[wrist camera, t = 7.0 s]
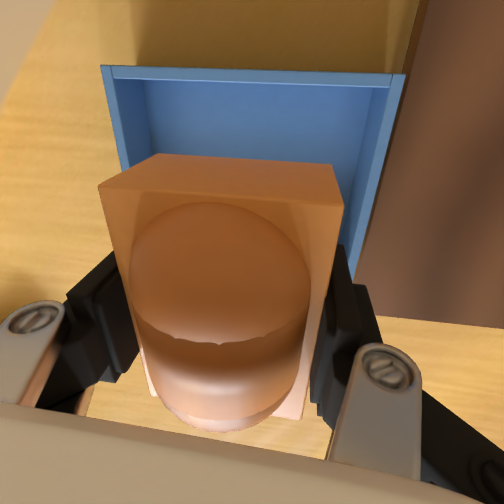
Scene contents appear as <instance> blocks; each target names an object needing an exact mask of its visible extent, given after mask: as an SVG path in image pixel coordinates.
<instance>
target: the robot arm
mask: <svg viewBox="0 0 504 504" xmlns="http://www.w3.org/2000/svg"><path fill="white" fill-rule="evenodd" d="M66 296H67V298H68V299H67V300H66V301H65V302H64V303H63V304H62V303H60V302H58V301H54V300H44V301H38V302H34V303H31V304H28V305H26V306H24V307H21V308H19V309H17V310H16V311H14V312H13V313H12V314H10V315H9V316H8V317H7V318H6V319H5V320H4V321H3V322H2V324H1V325H0V504H504V451H503V450H501V449H500V448H499V447H497V446H496V445H495V444H494V443H492V442H491V441H490V440H488V439H487V438H486V437H484V436H483V435H482V434H480V433H479V432H478V431H476V430H475V429H474V428H472V427H471V426H470V425H469V424H467V423H466V422H465V421H463V420H462V419H461V418H459V417H458V416H457V415H455V414H454V413H453V412H451V411H450V410H449V409H447V408H446V407H445V406H444V405H442V404H441V403H440V402H438V401H437V400H436V399H434V398H433V397H432V396H430V395H429V394H428V393H426V392H425V391H424V390H422V377H421V372H420V370H419V368H418V367H417V365H416V363H415V362H414V361H413V360H412V359H411V358H410V357H409V356H408V355H407V354H405V353H404V352H402V351H401V350H399V349H397V348H395V347H393V346H391V345H387V344H383V341H382V338H381V334H380V331H379V327H378V324H377V321H376V317H375V314H374V310H373V307H372V304H371V300H370V297H369V293H368V290H367V287H366V286H365V285H363V284H354V283H352V279H351V275H350V270H349V266H348V262H347V257H346V253H345V249H344V245H343V244H337V246H336V251H335V256H334V261H333V266H332V271H331V276H330V281H329V286H328V291H327V296H326V298H325V300H324V305H323V310H322V315H321V320H320V325H319V330H318V335H317V340H316V345H315V350H314V356H313V361H312V366H311V371H310V402H311V403H317V416H322V417H323V420H324V421H325V422H326V423H327V424H328V425H329V427H330V428H331V429H332V433H331V437H330V440H329V444H328V448H327V451H326V455H325V459H324V460H321V459H316V458H311V457H306V456H301V455H295V454H290V453H284V452H279V451H273V450H268V449H262V448H257V447H252V446H246V445H241V444H235V443H230V442H224V441H219V440H213V439H208V438H202V437H197V436H191V435H186V434H180V433H175V432H169V431H163V430H158V429H152V428H147V427H141V426H135V425H130V424H124V423H118V422H113V421H107V420H102V419H96V418H90V417H86V413H87V410H88V407H89V404H90V400H91V397H92V394H93V391H94V385H95V384H96V383H97V382H98V381H105V382H111V383H116V382H117V380H118V378H119V377H120V375H121V374H122V373H126V372H127V371H128V369H129V368H130V366H131V364H132V363H133V361H134V359H135V358H136V356H137V354H138V353H139V351H140V349H139V345H138V341H137V337H136V333H135V329H134V325H133V321H132V317H131V313H130V310H129V306H128V302H127V298H126V294H125V290H124V286H123V282H122V278H121V274H120V273H119V269H118V265H117V261H116V257H115V253H114V250H113V251H112V252H111V253H110V254H109V255H108V256H107V257H106V258H105V259H104V260H102V261H101V262H100V263H99V264H98V265H97V266H96V267H95V268H94V269H93V270H92V271H90V272H89V273H88V274H87V275H86V276H85V277H84V278H83V279H82V280H81V281H80V282H79V283H77V284H76V285H75V286H74V287H73V288H72V289H71V290H70V291H69V292H68V293H67V294H66Z"/></svg>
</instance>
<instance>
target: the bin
mask: <svg viewBox="0 0 504 504" xmlns="http://www.w3.org/2000/svg"><path fill="white" fill-rule="evenodd" d="M100 68H101V73H102V78H103V82H104V87H105V92H106V97H107V102H108V107H109V111H110V116H111V121H112V126H113V131H114V136H115V141H116V145H117V150H118V155H119V160H120V165H121V170H122V172H123V171H125V170H127V169H129V168H131V167H133V166H135V165H136V164H138V163H140V162H142V161H144V160H146V159H148V158H150V157H152V156H153V155H155V154H157V153H163V154H179V155H195V156H210V157H226V158H242V159H258V160H273V161H289V162H305V163H321V164H331V165H332V167H333V170H334V173H335V177H336V180H337V183H338V186H339V190H340V193H341V196H342V199H343V203H344V211H343V216H342V221H341V226H340V231H339V236H338V241H337V244H343V245H344V249H345V253H346V257H347V262H348V266H349V270H350V275H351V279H352V282H353V279H354V275H355V271H356V267H357V263H358V260H359V256H360V252H361V248H362V244H363V240H364V236H365V232H366V228H367V224H368V221H369V217H370V213H371V209H372V205H373V201H374V197H375V193H376V189H377V186H378V182H379V178H380V174H381V170H382V166H383V162H384V158H385V154H386V151H387V147H388V143H389V139H390V135H391V131H392V127H393V123H394V119H395V115H396V112H397V108H398V104H399V100H400V96H401V92H402V88H403V84H404V80H405V77H406V74H397V73H364V72H330V71H296V70H263V69H229V68H196V67H162V66H129V65H100Z"/></svg>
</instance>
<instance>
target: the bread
mask: <svg viewBox="0 0 504 504" xmlns="http://www.w3.org/2000/svg"><path fill="white" fill-rule="evenodd" d="M98 190H99V194H100V198H101V202H102V206H103V210H104V214H105V218H106V222H107V226H108V230H109V234H110V238H111V242H112V245H113V249H114V253H115V257H116V261H117V265H118V269H119V273H120V274H121V278H122V282H123V286H124V290H125V294H126V298H127V302H128V306H129V310H130V313H131V317H132V321H133V325H134V329H135V333H136V337H137V341H138V345H139V349H140V351H139V352H140V356H141V359H142V363H143V367H144V371H145V375H146V379H147V383H148V387H149V391H150V395H152V396H157V397H159V398H160V400H161V401H162V403H163V404H164V406H166V407H167V408H168V409H169V410H170V411H171V412H172V413H173V414H174V415H175V416H176V417H177V418H179V419H180V420H181V421H183V422H184V423H186V424H188V425H190V426H192V427H194V428H197V429H201V430H204V431H207V432H219V433H227V432H234V431H240V430H243V429H246V428H249V427H252V426H255V425H256V424H258V423H260V422H261V421H263V420H265V419H267V418H268V417H269V416H270V415H272V416H278V417H284V418H290V419H296V420H301V419H302V415H303V410H304V405H305V400H306V395H307V390H308V385H309V380H310V371H311V366H312V361H313V356H314V350H315V345H316V340H317V335H318V330H319V325H320V320H321V315H322V310H323V305H324V300H325V298H326V296H327V291H328V286H329V281H330V276H331V271H332V266H333V261H334V256H335V251H336V246H337V241H338V236H339V231H340V226H341V221H342V216H343V211H344V203H343V199H342V196H341V193H340V190H339V186H338V183H337V180H336V177H335V173H334V170H333V167H332V165H331V164H321V163H305V162H289V161H273V160H258V159H242V158H226V157H210V156H195V155H179V154H163V153H157V154H155V155H153V156H152V157H150V158H148V159H146V160H144V161H142V162H140V163H138V164H136V165H135V166H133V167H131V168H129V169H127V170H125V171H123V172H121V173H120V174H118V175H116V176H114V177H112V178H110V179H108V180H106V181H104V182H103V183H101V184H99V185H98Z"/></svg>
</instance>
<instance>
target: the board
mask: <svg viewBox="0 0 504 504" xmlns="http://www.w3.org/2000/svg"><path fill="white" fill-rule="evenodd" d="M402 74H406V77H405V80H404V84H403V88H402V92H401V96H400V100H399V104H398V108H397V112H396V115H395V119H394V123H393V127H392V131H391V135H390V139H389V143H388V147H387V151H386V154H385V158H384V162H383V166H382V170H381V174H380V178H379V182H378V186H377V189H376V193H375V197H374V201H373V205H372V209H371V213H370V217H369V221H368V224H367V228H366V232H365V236H364V240H363V244H362V248H361V252H360V256H359V260H358V263H357V267H356V271H355V275H354V279H353V282H352V283H354V284H363V285H365V286H366V287H367V290H368V293H369V297H370V300H371V304H372V307H373V310H374V314H375V315H378V316H388V317H397V318H406V319H415V320H425V321H434V322H443V323H452V324H462V325H471V326H480V327H489V328H499V329H504V0H420V3H419V7H418V11H417V15H416V19H415V23H414V27H413V31H412V35H411V39H410V43H409V47H408V51H407V55H406V59H405V63H404V67H403V71H402Z"/></svg>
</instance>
